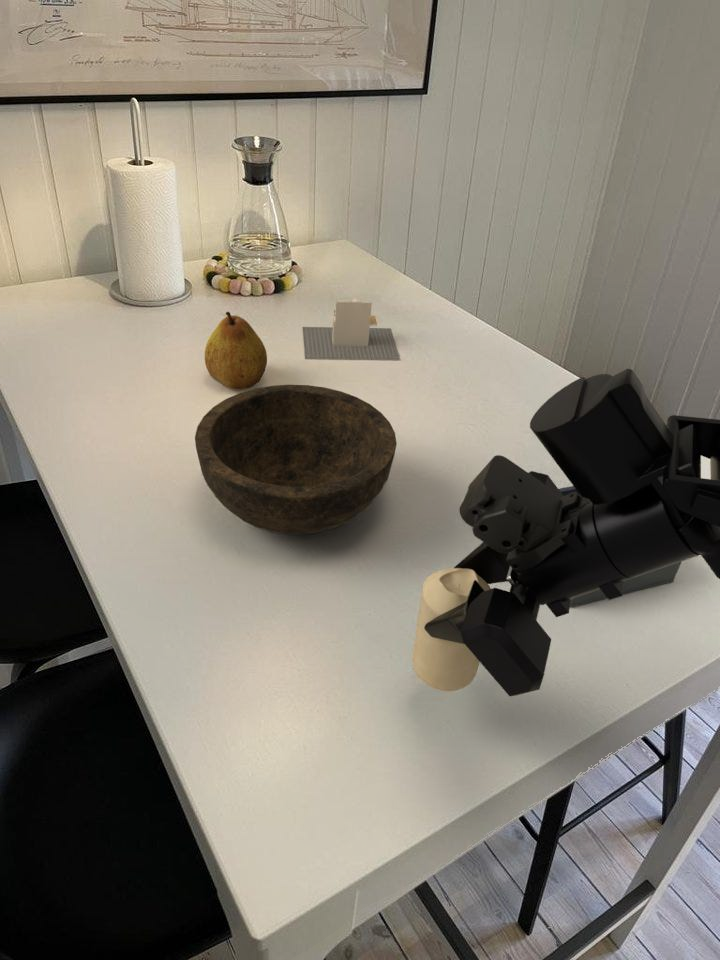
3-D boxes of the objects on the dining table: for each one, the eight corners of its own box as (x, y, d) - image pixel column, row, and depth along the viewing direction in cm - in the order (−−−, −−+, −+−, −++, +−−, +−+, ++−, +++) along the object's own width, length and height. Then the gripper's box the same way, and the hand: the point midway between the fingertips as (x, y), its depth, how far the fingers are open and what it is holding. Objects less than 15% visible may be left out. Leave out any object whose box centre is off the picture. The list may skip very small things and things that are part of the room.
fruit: (243, 360, 115) (241, 286, 108) (279, 385, 109) (279, 308, 102) (194, 376, 110) (188, 299, 103) (229, 403, 105) (225, 323, 97)
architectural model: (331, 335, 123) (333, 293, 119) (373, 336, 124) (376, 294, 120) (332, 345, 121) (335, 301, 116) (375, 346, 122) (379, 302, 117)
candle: (442, 630, 66) (458, 545, 60) (490, 669, 63) (511, 583, 57) (398, 661, 63) (409, 575, 57) (445, 703, 60) (463, 617, 54)
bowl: (427, 517, 88) (438, 446, 82) (276, 601, 75) (276, 525, 69) (309, 433, 100) (311, 366, 94) (164, 494, 88) (156, 422, 82)
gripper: (567, 381, 55) (410, 466, 65) (522, 533, 41) (329, 614, 50) (647, 493, 58) (485, 559, 67) (630, 672, 44) (428, 724, 53)
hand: (437, 605), depth 60 cm, fingers closed on candle, 5 cm apart
